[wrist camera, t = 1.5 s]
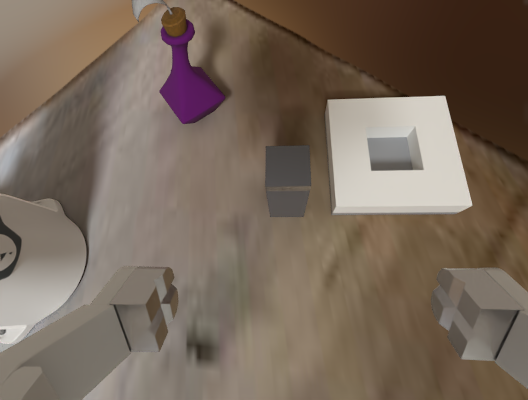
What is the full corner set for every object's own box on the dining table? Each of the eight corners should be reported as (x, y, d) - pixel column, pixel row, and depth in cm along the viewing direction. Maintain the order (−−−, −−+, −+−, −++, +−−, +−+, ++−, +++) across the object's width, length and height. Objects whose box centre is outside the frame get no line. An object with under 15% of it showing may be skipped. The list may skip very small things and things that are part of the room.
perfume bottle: (205, 82, 47) (161, -42, 30) (229, 111, 44) (196, -5, 27) (167, 105, 45) (98, -10, 29) (189, 136, 43) (129, 31, 26)
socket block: (331, 214, 37) (336, 206, 34) (324, 115, 43) (327, 99, 40) (455, 214, 36) (472, 205, 33) (432, 111, 42) (445, 95, 38)
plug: (270, 216, 38) (265, 186, 28) (270, 186, 39) (265, 146, 29) (303, 216, 38) (311, 185, 27) (302, 185, 39) (309, 145, 29)
